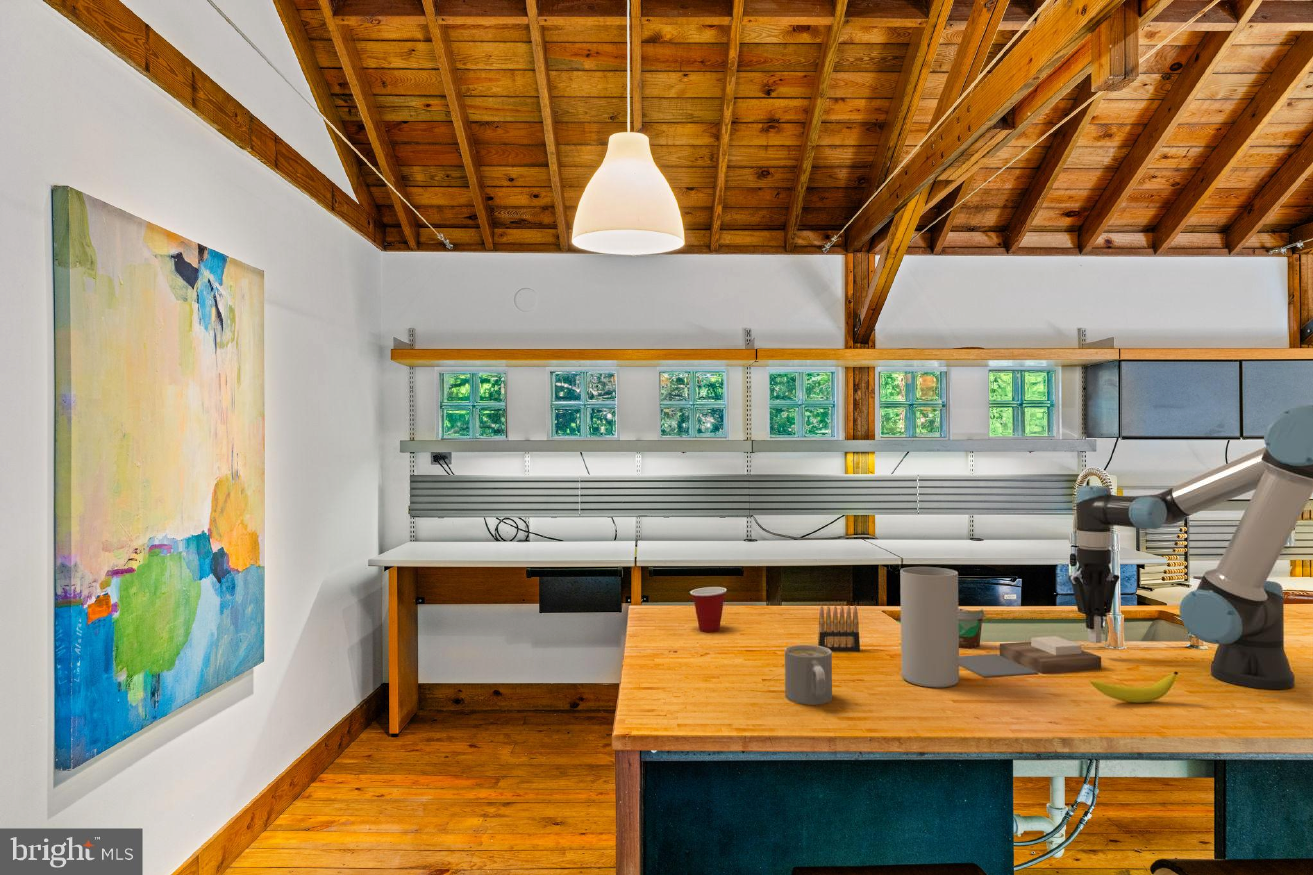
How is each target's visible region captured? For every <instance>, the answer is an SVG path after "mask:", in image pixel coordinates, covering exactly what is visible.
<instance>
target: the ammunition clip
mask: <svg viewBox="0 0 1313 875" xmlns="http://www.w3.org/2000/svg"><path fill="white" fill-rule="evenodd" d="M851 610H852V609H851V607H850V605H847V607H846V615H845V610H844V606H843V605H842V604H841V606H840V608H839V613H838V608H837V604H836V605H834V607H833V610H832V611H831V607H830V605H827V607H826V613H825V612H824V611H825V610H824V607H823V605H822V604H821V605H820V608H819V618H818V636H817V637H818V638H817V639H818V642H817V643H818V644H817V646H822V647H825V648H828V649H830V650H831V652H832V653H833V652H834V653H837V652H838V653H840V652H841V653H843V652H844V653H845V652H846V653H848V652H855V653H856V652H858V653H860V652H861V645H860V643H861V642H860V630H859V629H860V627H859V626H860V624H859V623H860V622H859V616H858V615H859V614H858V608H857V605H854V607H853V611H851ZM831 612H832V614H831ZM825 614H826V616H825ZM838 614H839V615H838ZM845 616H846V617H845ZM845 618H846V619H845Z"/></svg>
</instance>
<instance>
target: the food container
mask: <svg viewBox="0 0 1313 875" xmlns="http://www.w3.org/2000/svg"><path fill="white" fill-rule="evenodd" d="M985 617H986V613H985V611H984V609H983V608H982V609H979V610H973V611H972V610H967V609H965V608H964V609H962V608H958V624H959V649H966V650H967V649H968V650H969V649H970V650H971V649H976V648H979V647H980V646H981V636H982V625H983V619H985Z"/></svg>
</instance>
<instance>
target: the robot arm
mask: <svg viewBox="0 0 1313 875" xmlns="http://www.w3.org/2000/svg"><path fill="white" fill-rule="evenodd" d="M1263 434H1264V436H1263V442H1264V444H1265V446H1264V447H1261V448H1259V449H1257V450H1255V451H1253V452H1250V453H1248V454H1245V455H1244V456H1242V457H1240V458H1237V459H1234V460H1232V461H1231V462H1228V463H1226V464H1223V465H1221V466H1218V467H1217V468H1214V469H1212V470H1210V471H1207V472H1205V473H1203V474H1200V475H1198V476H1196V477H1194V478H1191V479H1189V480H1187V481H1185V482H1181V483H1180V484H1178V485H1175V486H1173V487H1171V488H1168V489H1166V490H1164V491H1162V492H1159V493H1155V494H1147V495H1145V494H1144V495H1117V494H1116V495H1115V494H1112V492H1111V488H1110V487H1109V486H1104V485H1081V486H1078V487H1077V490H1076V500H1075V509H1076V511H1075V512H1076V545H1077V546H1078V547H1077V548H1076V561H1077V563H1078V566H1077V569H1076V572H1075V573H1074V574H1073V575H1071V574H1070V575H1068V581H1069V582H1070V583H1071V586H1072V590H1073V596H1074V600H1075V604H1076V609H1077V612H1078V613H1080V614H1083V615H1085V628H1086V629H1087V641H1089V642H1091V643H1094V644H1101V643H1102V630H1103V627H1104V618H1106V617H1107V615H1108V614H1111V612H1112V606H1113V600H1114V596H1115V592H1116V587H1117V584H1118V582H1119V580H1120V575H1118V574H1115V573H1114V572H1112V570H1111V567H1110V564H1111V563H1112V550H1111V549H1109V548H1111V547H1112V531H1111V530H1112V529H1111V528H1112V527H1114V526H1116V527H1118V526H1119V527H1126V528H1135V529H1140V530H1159V529H1161V527H1162V526H1163V525H1164V526H1165V525H1174V524H1177V523H1181V522H1182V521H1183V522H1184V520H1185V519H1187V517H1189V516H1192V515H1194V514H1197V513H1199V512H1202V511H1205V510H1207V509H1209V508H1212V507H1215V506H1216V505H1220V504H1222V503H1224V502H1228V501H1229V500H1232V499H1235V498H1237V497H1239V496H1242V495H1244V494H1246V493H1249V492H1252V491H1254V492H1253V494H1252V496H1251V498H1250V500H1249V501H1248V502H1249V503H1248V504H1247V506H1246V507H1245V510H1244V512H1243V514H1242V516H1241V519H1240V520H1239V523H1238V525H1237V527H1236V529H1235V530H1234V532H1233V535H1232V536H1231V538H1230V541H1229V542H1228V544H1227V546H1226V548H1225V551H1224V552H1223V554H1222V557H1221V558H1220V560H1219V562H1218V564H1217V566H1216V568H1214V569H1210V570H1206V571H1205V572H1204V574H1203V575H1202V577H1201V580H1200V581H1199V583H1198V586H1197V587H1196V589H1195V590H1193V591H1190V592H1188V594H1186V595H1185V596H1184V597H1183V598H1182V600H1181V602H1180V605H1179V609H1178V610H1179V617H1180V619H1181V621H1182V623H1183V625H1184V627H1185V629H1186V630H1187V631H1188V632H1189V633H1190V634H1191V635H1192V636H1194V637H1195V638H1196V639H1198V640H1199V641H1202V642H1205V643H1208V644H1212V645H1217V648H1216V650H1215V653H1214V657H1213V660H1212V661H1211V663H1210V675H1211V676H1212V677H1214V678H1215V679H1218V680H1220V681H1223V682H1226V683H1230V684H1234V685H1237V686H1243V687H1248V688H1254V689H1263V690H1264V689H1265V690H1289V689H1292V688H1294V687H1295V684H1296V681H1295V674H1294V672H1293V671H1292V669H1291V666H1290V663H1289V660H1288V657H1287V654H1286V651H1285V645H1284V644H1285V643H1284V642H1285V640H1284V639H1285V638H1284V636H1285V635H1284V634H1285V629H1284V628H1285V627H1284V625H1285V624H1284V623H1285V621H1284V619H1285V618H1284V615H1285V614H1284V610H1285V609H1284V603H1285V602H1284V601H1285V596H1284V589H1283V587H1282V584H1280V583H1279V582H1276V581H1271V580H1268V578H1269V576H1270V574H1271V572H1272V570H1273V568H1274V567H1275V565H1276V563H1277V561H1278V559H1279V558H1280V555H1281V553H1282V552H1283V549H1284V548H1285V546H1286V544H1287V542H1288V540H1289V538H1290V536H1291V535H1292V533H1293V531H1294V528H1295V527H1296V525H1297V523H1298V521H1299V520H1300V518H1301V515H1302V514H1303V512H1304V510H1305V508H1306V506H1307V505H1308V502H1309V501H1310V498H1311V497H1312V495H1313V405H1311V404H1310V405H1300V406H1297V407H1296V406H1295V407H1292V408H1289V409H1286V410H1284V411H1281V412H1280V413H1278V414H1276V416H1274V417H1273V418H1272V419H1271V420H1270V422H1268V424H1267V426H1266V428H1265V430H1264V433H1263Z"/></svg>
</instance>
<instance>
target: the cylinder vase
mask: <svg viewBox="0 0 1313 875" xmlns="http://www.w3.org/2000/svg"><path fill="white" fill-rule="evenodd" d="M899 573H900V574H899V575H900V576H899V577H900V584H899V585H900V646H901V647H900V648H901V649H900V651H901V652H900V656H901V658H900V659H901V660H900V662H901V666H900V667H901V668H900V669H901V676H902V678H903V679H904V680H905V681H906V682H908V683H910V684H913V685H915V686H920V687H926V688H938V689H939V688H941V689H942V688H948V687H953V686H955V685H957V684H958V683H959V681H960V666H959V656H960V648H959V624H958V609H959V573H958V571H956V570H954V569H949V568H942V567H933V566H931V567H930V566H913V567H912V566H911V567H904V568H901V569H900V572H899Z"/></svg>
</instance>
